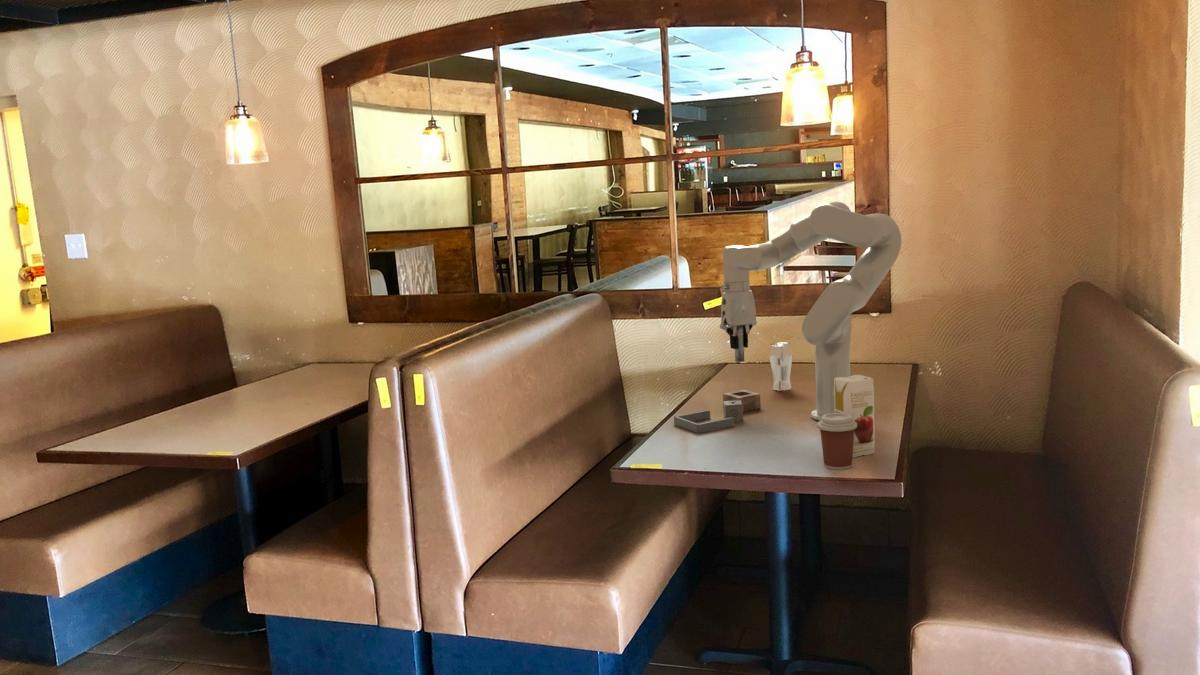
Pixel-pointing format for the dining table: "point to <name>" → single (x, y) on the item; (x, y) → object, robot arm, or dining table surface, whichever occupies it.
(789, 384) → the beer glass
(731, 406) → the dice cube
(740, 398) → the walnut block
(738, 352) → the steel pin
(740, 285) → the robot arm
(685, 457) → the dining table surface
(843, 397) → the juice carton
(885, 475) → the dining table surface
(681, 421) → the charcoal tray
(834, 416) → the coffee cup
